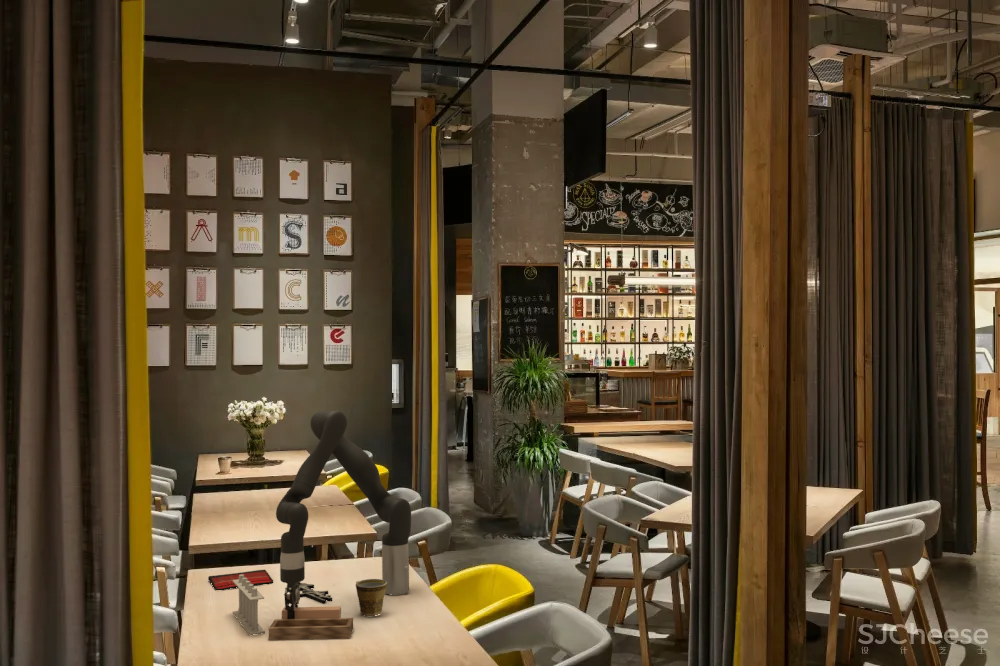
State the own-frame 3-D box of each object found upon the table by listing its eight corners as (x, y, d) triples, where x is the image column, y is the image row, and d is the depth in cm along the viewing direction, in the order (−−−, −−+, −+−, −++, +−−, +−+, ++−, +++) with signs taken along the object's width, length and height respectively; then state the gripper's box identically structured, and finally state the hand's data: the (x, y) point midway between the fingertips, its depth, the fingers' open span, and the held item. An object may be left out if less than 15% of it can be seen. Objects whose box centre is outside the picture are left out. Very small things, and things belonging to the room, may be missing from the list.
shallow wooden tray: (353, 628, 273) (353, 617, 273) (349, 638, 264) (349, 627, 264) (275, 630, 272) (274, 619, 272) (268, 640, 263) (268, 628, 263)
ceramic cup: (393, 613, 288) (393, 582, 288) (369, 620, 280) (368, 589, 280) (368, 605, 296) (368, 575, 296) (344, 612, 289) (343, 581, 289)
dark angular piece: (278, 585, 317) (302, 580, 324) (278, 589, 317) (302, 584, 324) (317, 602, 297) (343, 596, 303) (317, 606, 297) (343, 600, 303)
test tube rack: (264, 633, 269) (264, 590, 269) (250, 636, 267) (249, 592, 267) (246, 611, 291) (245, 571, 291) (232, 613, 289) (232, 573, 289)
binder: (208, 575, 329) (265, 568, 338) (208, 581, 329) (265, 574, 338) (215, 588, 314) (274, 580, 324) (215, 594, 314) (274, 586, 324)
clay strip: (340, 620, 282) (340, 606, 282) (339, 624, 278) (339, 609, 278) (284, 621, 281) (284, 607, 281) (281, 625, 278) (281, 610, 278)
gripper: (300, 571, 273) (300, 626, 272) (308, 559, 287) (308, 612, 287) (275, 571, 272) (276, 627, 272) (285, 560, 287) (285, 612, 286)
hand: (292, 619), depth 279 cm, fingers open, 4 cm apart
